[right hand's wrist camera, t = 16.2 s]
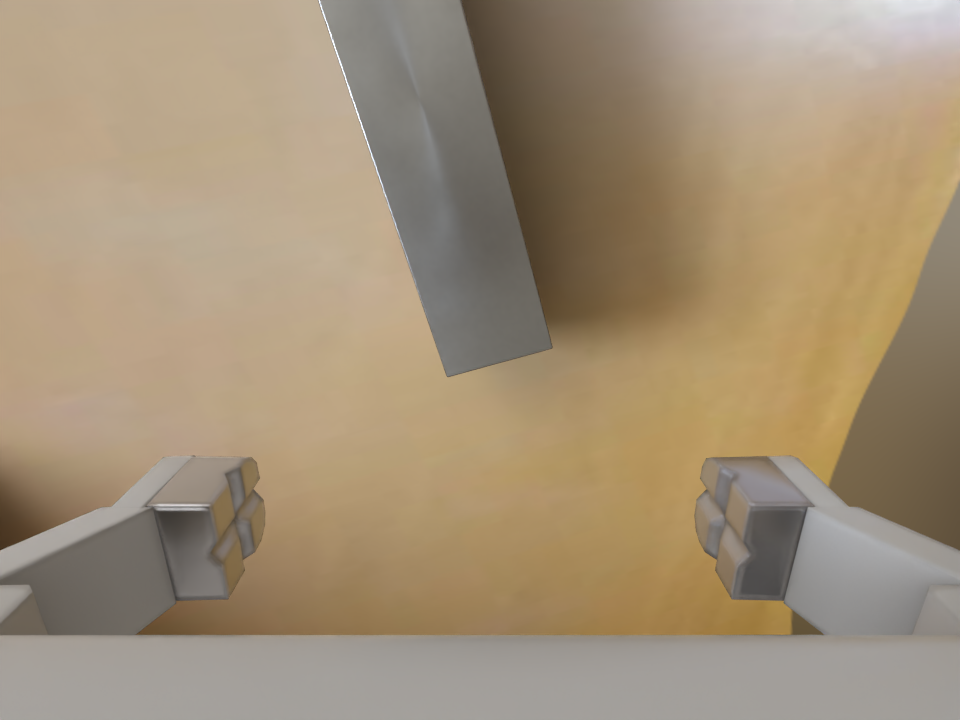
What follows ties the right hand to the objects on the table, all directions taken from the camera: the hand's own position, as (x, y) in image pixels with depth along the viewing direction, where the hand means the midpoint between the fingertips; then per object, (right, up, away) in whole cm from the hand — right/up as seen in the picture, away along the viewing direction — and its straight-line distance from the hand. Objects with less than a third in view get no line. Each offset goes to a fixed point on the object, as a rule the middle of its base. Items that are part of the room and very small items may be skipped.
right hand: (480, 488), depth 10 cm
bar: (-2, +16, +20) cm, 25 cm away
